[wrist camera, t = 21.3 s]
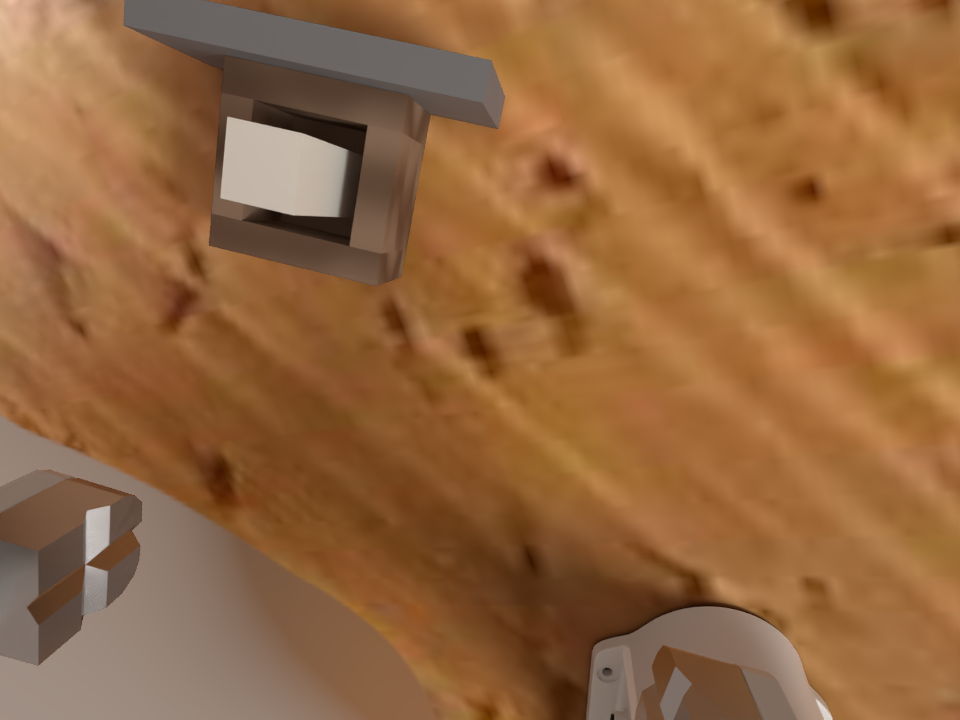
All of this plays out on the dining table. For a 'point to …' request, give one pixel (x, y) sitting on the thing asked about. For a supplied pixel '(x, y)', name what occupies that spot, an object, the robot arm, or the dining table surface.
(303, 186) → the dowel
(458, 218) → the dining table surface
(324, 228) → the brown square open box
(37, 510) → the robot arm
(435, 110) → the wall
